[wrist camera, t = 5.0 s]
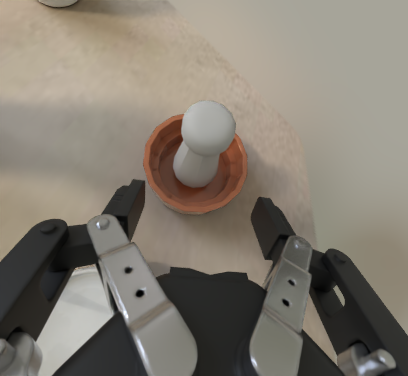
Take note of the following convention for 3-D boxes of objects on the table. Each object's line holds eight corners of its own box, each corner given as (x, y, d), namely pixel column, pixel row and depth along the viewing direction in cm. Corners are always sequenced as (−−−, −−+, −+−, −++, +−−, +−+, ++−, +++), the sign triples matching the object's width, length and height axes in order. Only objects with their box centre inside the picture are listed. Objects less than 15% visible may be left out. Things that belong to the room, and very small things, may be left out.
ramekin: (146, 249, 24) (139, 255, 18) (162, 346, 22) (158, 383, 17) (47, 272, 21) (7, 287, 16) (55, 383, 20) (12, 438, 14)
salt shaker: (200, 145, 27) (222, 75, 15) (221, 177, 27) (263, 134, 14) (165, 164, 26) (156, 104, 13) (186, 199, 25) (199, 171, 13)
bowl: (130, 165, 25) (120, 151, 20) (197, 118, 28) (201, 95, 24) (189, 233, 25) (193, 235, 20) (250, 177, 28) (266, 167, 23)
